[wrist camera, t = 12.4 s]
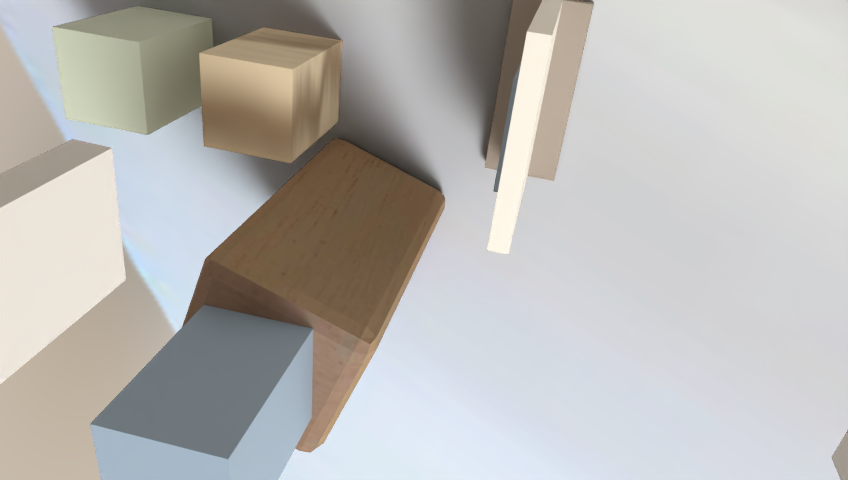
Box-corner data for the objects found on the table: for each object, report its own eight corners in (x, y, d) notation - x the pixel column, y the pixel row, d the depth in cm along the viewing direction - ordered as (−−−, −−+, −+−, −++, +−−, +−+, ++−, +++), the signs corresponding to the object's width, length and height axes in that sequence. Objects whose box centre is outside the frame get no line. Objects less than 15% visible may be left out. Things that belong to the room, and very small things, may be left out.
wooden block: (293, 230, 55) (156, 384, 38) (336, 129, 50) (200, 253, 33) (400, 287, 56) (311, 465, 38) (452, 192, 51) (378, 347, 33)
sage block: (137, 5, 49) (52, 26, 42) (212, 18, 49) (138, 42, 41) (144, 85, 52) (65, 118, 45) (215, 98, 52) (147, 135, 44)
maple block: (263, 27, 48) (199, 52, 40) (342, 40, 47) (292, 69, 39) (263, 107, 51) (203, 146, 43) (338, 121, 50) (291, 163, 42)
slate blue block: (203, 304, 35) (90, 424, 27) (313, 328, 34) (228, 459, 26) (210, 393, 37) (110, 523, 30) (311, 417, 37) (234, 559, 29)
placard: (515, -10, 43) (487, 25, 32) (593, 2, 42) (592, 41, 31) (486, 162, 49) (454, 243, 38) (554, 175, 48) (542, 261, 37)
